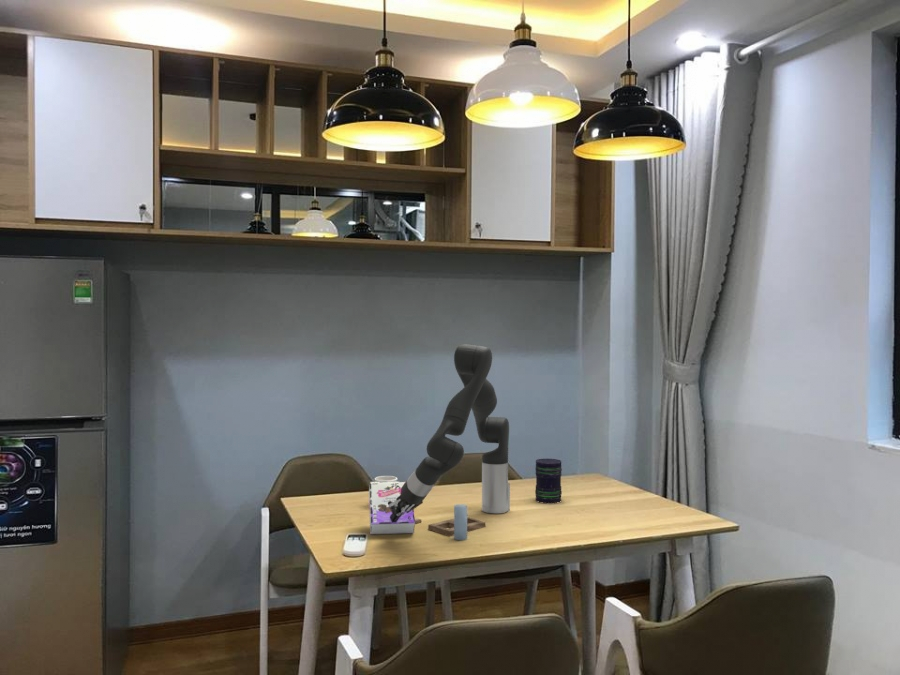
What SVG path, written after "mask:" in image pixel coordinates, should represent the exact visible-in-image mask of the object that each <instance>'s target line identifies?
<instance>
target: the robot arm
mask: <svg viewBox="0 0 900 675" xmlns="http://www.w3.org/2000/svg"><path fill="white" fill-rule="evenodd" d="M453 361H454V362H453V363H454V367H455V370H456V373H457V374H458V376H459V378H460V381H461V382H462V384H463V385H462V386H463V388H462V389H461V390H459V392H457V393H456V394H455V395H454V396H453V397H452V398H451V400H450V401H449V402H448V404H447V405H446V407H445V412H444V414H443V417H442V421H441V423H440V425H439V426H438V428H437V430H436V431H435V433H434V434H433V435H432V437H431V438H430V439H429V441H428V442H427V445H426V453H427V456H425V458H423V459H422V461H421V462H420V463H419V464H418V466H417V467H416V469H414V470H413V472H412V473H411V474H410V475H409V477H408V478H407V479H406V480H405V481H406V482H405V483H404V485H403V486H402V488H401V495H400V496H399V497H397V499H396V501H395V502H391V501H389V502H388V505H389V508H390V510H391V512H392V514H391V516H390V519H391V521H392V522H397V521H398V519H399V518H400V517H401V515H404V514H405V513H409V512H410V511H412V510H413V509H414V510H415V509H417V508H418V507H419V506H420V505H422V504H424V503H423V502H424V499H425V498H427V496H428V495H429V494H430V492H431V491H432V490H433V487H435V484H436V483H437V482H438V481H439V479H440V477H441V476H443V475H444V474H446V473H448V472H449V471H451V470H452V469H454V468H455V467H456V466H458V465H459V463H461V461H462V459H463V457H464V453H465V449H464V446H462V444H461V443H459V442H457V441H455V440H453V439H451V438H449V437H447V436H446V435H450V436H457V437H459V436H462V435H463V433H464V432H465V429H466V425H467V423H468V420H469V417H470V414H471V410H472V413H473V416H474V420H475V426H476V431H477V435H478V438H479V440H480V441H481V443H482V442H483V443H486V444H498V447H496V448H495V449H493V450H490V451H486V452H484V453H483V454H482V456H481V511H482V512H484V513H487V514H504V513H507V512H508V511H510V509H511V508H510V507H511V503H510V502H511V497H510V496H511V484H510V482H509V438H510V422H509V420H508V418H507V417H502V416H490V415H491V414H492V413H493V412H494V410H495V408H496V407H497V405H498V399H497V394H496V391H495V387H494V385H493V384H492V382H490V381H489V380H488V379H487V378H488V375H489V373H490V370H491V369H492V368H491V367H492V363H493V353H492V350H491V349H490V348H489V347H488V346H487V347H486V346H482V345H474V344H468V343H467V344H466V343H465V344H464V343H463V344H459V345H458V346H457V347H456V349H455V351H454V355H453Z"/></svg>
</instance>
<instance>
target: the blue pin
mask: <svg viewBox="0 0 900 675" xmlns="http://www.w3.org/2000/svg"><path fill="white" fill-rule="evenodd" d="M453 507H454V508H453V512H454V513H453V519H454V535H453V539H454V540H456V541H466V540H467V539H468V531H467V524H468V523H467V517H468V505H466V504H454V506H453Z"/></svg>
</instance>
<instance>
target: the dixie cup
mask: <svg viewBox="0 0 900 675" xmlns="http://www.w3.org/2000/svg"><path fill="white" fill-rule="evenodd" d="M374 482H398V477H396V476H393V475H379V476H376V477H375V478H374Z"/></svg>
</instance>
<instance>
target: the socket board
mask: <svg viewBox="0 0 900 675" xmlns="http://www.w3.org/2000/svg"><path fill="white" fill-rule="evenodd" d="M485 527H486V521H484V520H479V519H476V518H472V517H469V516H467V532H470V531H474V530H478V529H481V528H485ZM427 528H428V530H429V531H432V532H435V533H437V534H442V535H445V536H448V537H451V536H454V518H451V519H446V520H443V521H439V522H438V521H437V522H434V523H429V524H428V527H427Z"/></svg>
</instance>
